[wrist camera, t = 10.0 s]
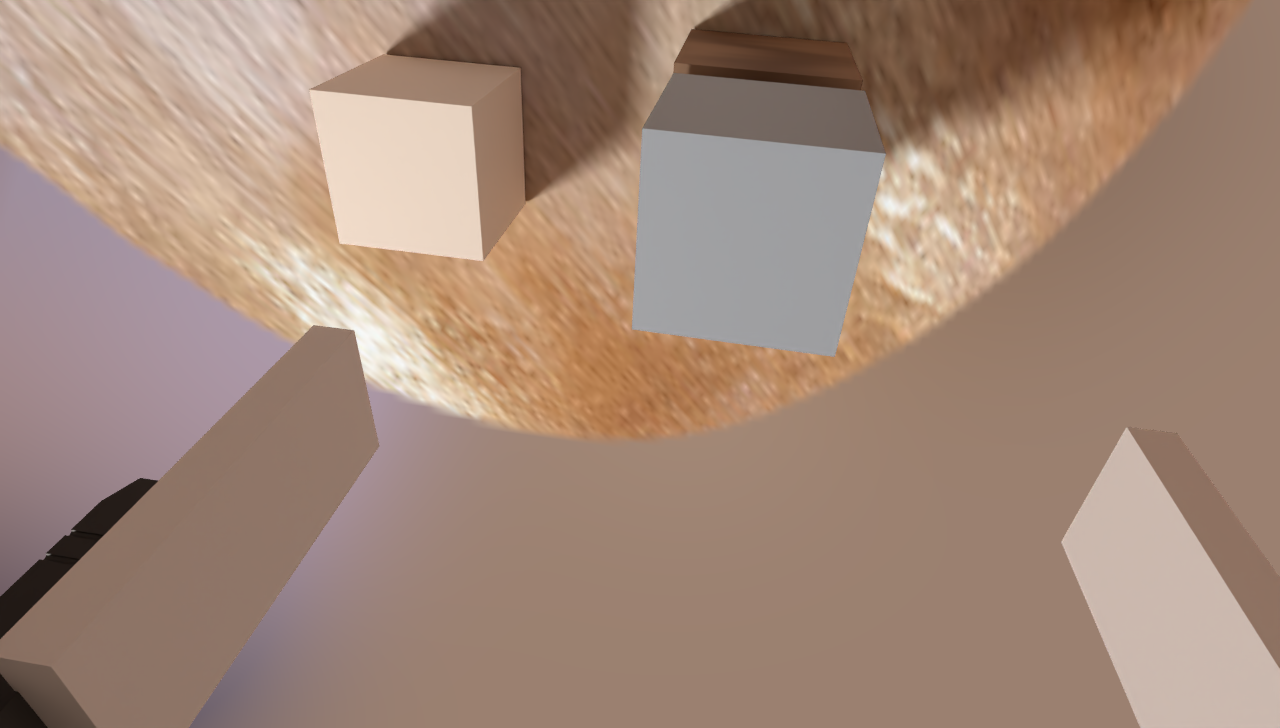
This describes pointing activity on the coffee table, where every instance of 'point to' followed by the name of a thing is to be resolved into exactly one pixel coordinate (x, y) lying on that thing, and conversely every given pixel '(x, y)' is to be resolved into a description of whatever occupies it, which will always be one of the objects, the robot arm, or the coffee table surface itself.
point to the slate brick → (753, 211)
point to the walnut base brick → (768, 59)
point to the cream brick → (423, 154)
